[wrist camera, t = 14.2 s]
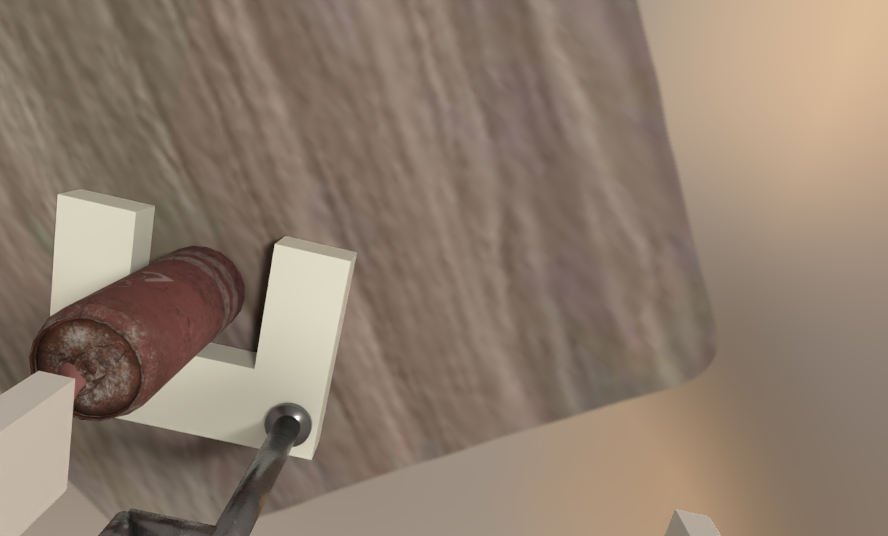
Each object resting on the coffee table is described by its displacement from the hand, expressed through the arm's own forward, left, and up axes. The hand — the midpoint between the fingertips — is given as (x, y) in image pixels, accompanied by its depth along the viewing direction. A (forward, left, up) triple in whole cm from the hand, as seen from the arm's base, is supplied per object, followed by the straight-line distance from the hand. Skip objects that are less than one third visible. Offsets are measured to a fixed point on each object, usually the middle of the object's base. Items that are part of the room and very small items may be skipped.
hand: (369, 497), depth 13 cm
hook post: (+15, -9, -26) cm, 31 cm away
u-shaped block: (+10, -14, -29) cm, 33 cm away
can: (+8, -15, -29) cm, 33 cm away
